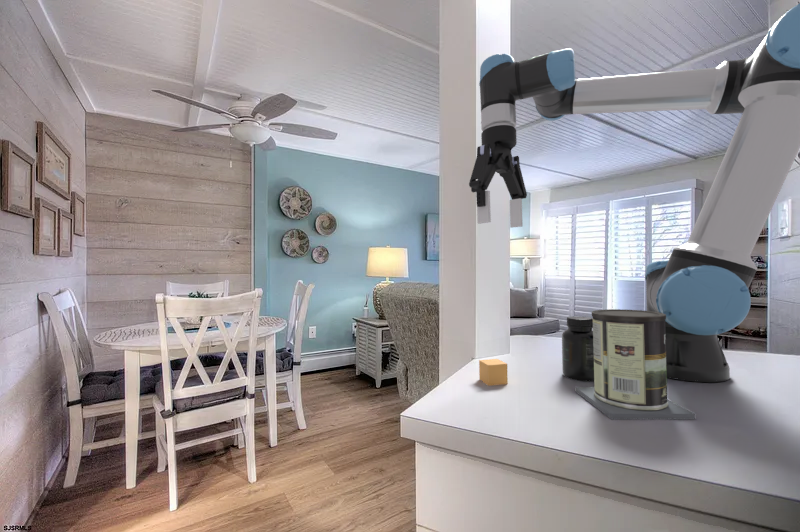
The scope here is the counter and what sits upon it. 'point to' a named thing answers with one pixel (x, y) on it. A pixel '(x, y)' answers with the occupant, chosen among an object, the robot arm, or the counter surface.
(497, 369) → the orange cube
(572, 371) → the supplement bottle
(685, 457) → the counter surface
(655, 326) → the coffee can
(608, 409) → the slate mat
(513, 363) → the counter surface
